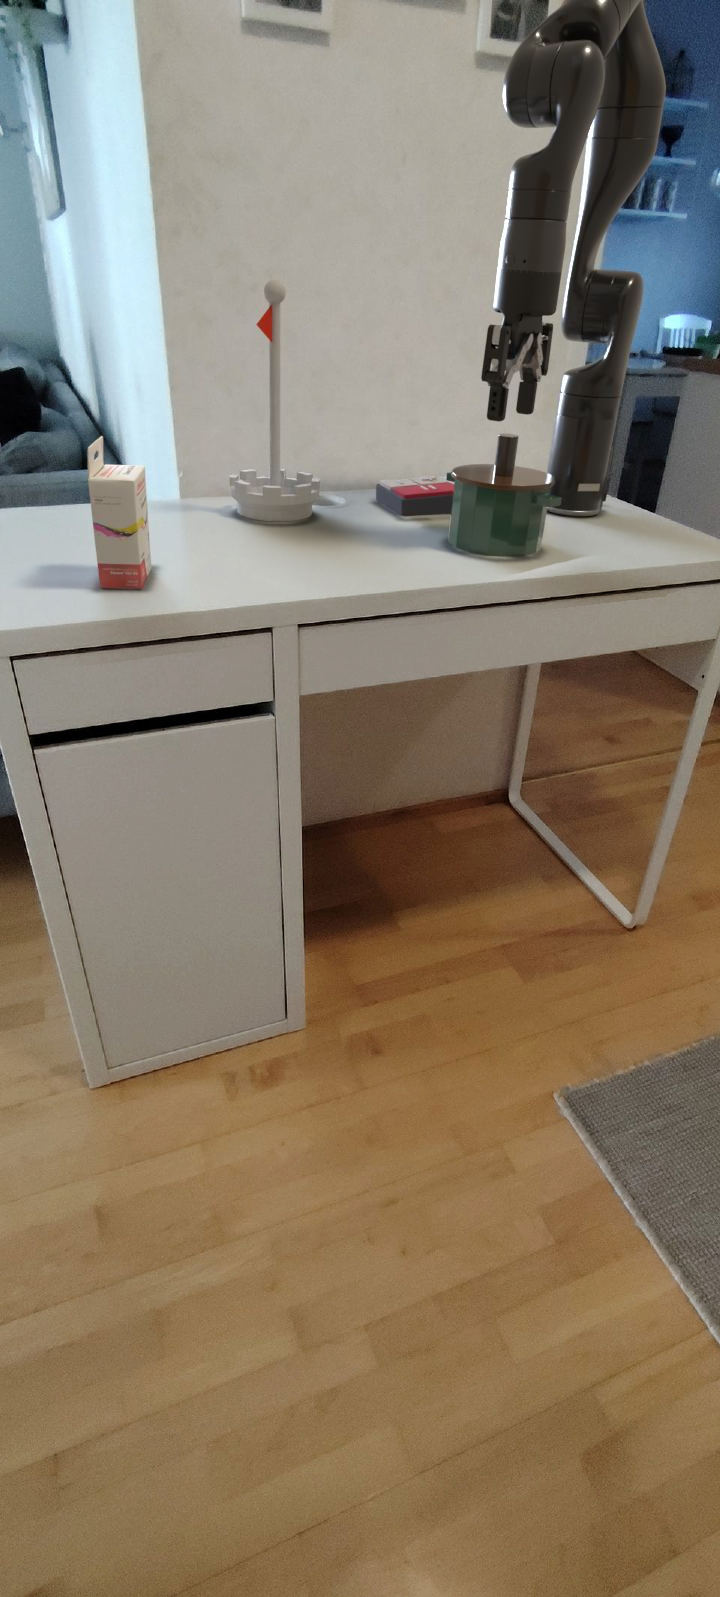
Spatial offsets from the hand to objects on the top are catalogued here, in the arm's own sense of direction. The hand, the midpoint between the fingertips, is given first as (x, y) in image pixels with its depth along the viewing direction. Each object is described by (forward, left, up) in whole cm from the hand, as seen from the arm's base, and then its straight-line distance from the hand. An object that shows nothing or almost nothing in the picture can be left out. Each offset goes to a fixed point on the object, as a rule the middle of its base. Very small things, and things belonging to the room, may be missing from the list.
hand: (510, 417), depth 108 cm
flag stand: (+16, -29, -17) cm, 37 cm away
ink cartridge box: (+48, -14, -17) cm, 53 cm away
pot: (0, 0, -17) cm, 17 cm away
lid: (0, 0, -8) cm, 8 cm away
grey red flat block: (-8, -20, -17) cm, 27 cm away
